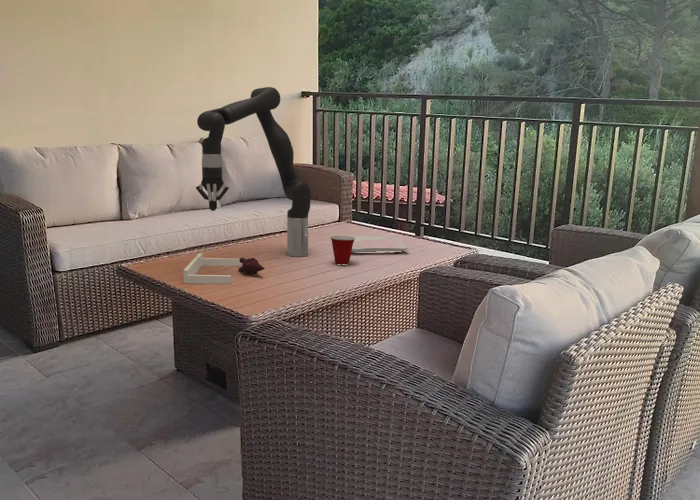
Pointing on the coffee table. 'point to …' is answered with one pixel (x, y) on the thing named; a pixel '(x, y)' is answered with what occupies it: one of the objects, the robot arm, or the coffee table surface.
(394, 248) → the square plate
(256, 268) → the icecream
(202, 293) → the coffee table surface
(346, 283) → the coffee table surface
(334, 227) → the coffee table surface
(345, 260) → the plastic cup
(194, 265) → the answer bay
